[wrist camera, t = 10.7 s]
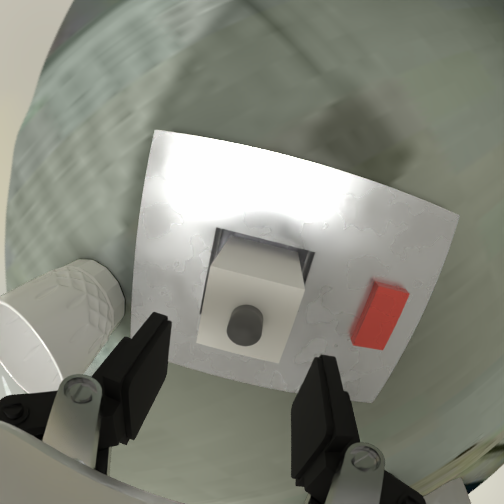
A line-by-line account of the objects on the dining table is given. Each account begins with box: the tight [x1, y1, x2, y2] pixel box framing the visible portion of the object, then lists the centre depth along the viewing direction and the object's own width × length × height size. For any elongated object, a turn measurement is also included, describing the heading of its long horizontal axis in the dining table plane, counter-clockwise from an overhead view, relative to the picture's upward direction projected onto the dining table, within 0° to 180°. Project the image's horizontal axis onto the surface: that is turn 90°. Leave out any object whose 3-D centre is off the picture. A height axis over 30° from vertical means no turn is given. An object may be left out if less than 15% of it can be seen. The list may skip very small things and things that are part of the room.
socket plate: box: [131, 130, 460, 403], centre depth 19 cm, size 20×16×3 cm
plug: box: [196, 235, 305, 363], centre depth 16 cm, size 4×4×7 cm
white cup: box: [0, 259, 125, 394], centre depth 18 cm, size 8×8×10 cm
